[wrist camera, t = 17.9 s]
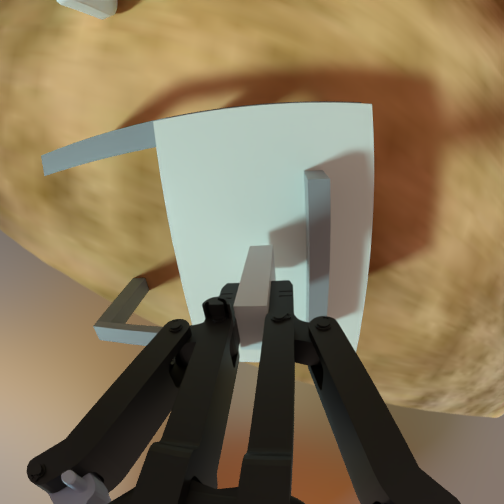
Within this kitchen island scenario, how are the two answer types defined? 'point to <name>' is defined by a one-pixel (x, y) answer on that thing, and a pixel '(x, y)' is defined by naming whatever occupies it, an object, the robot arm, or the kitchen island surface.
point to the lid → (273, 202)
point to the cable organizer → (92, 7)
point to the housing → (128, 300)
